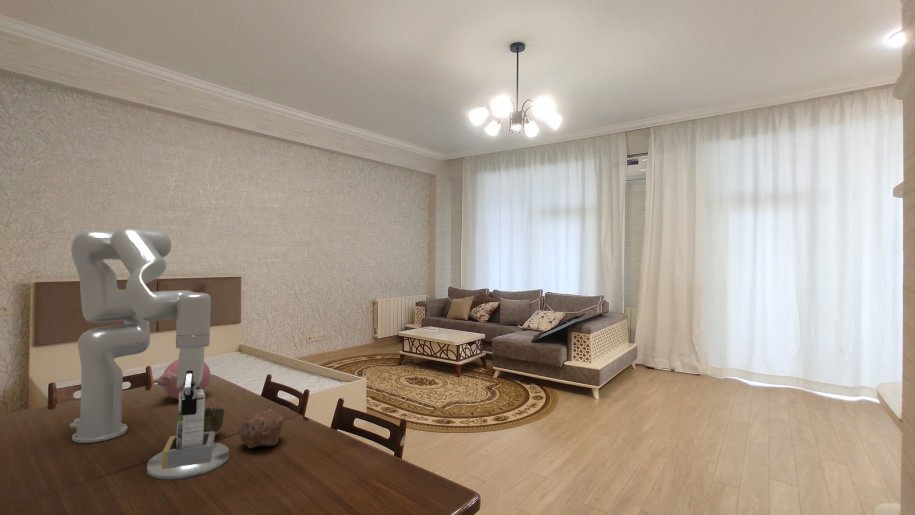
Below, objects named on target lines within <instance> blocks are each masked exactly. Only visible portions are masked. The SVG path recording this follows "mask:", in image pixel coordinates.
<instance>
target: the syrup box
mask: <svg viewBox="0 0 915 515" xmlns="http://www.w3.org/2000/svg"><path fill="white" fill-rule="evenodd" d="M192 391H193V390H192ZM182 397H183V391H182V392H179V400H178V405H177V406H178V407H177V419H176V421H177V422H176V436H177V443H176V449H179V448H186V447H194V446H202V445H203V432H204V410H205V409H206V408H205V406H206V405H205V404H206V394H205V390H203V389H199V390H196V398H197V409H196V414H193V415H181V409H182Z"/></svg>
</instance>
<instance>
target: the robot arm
mask: <svg viewBox="0 0 915 515" xmlns="http://www.w3.org/2000/svg"><path fill="white" fill-rule="evenodd" d="M171 241H172V240H171V238H170V236H169V235H168V234H167V233H166V232H164V231H162V230H159V229H151V228H137V227H135V228H134V227H128V228H127V227H126V228H121V229H119V230H117V231H115V230H114V231H113V230H97V229H96V230H86V231H82V232H80V233H78V234H77V235H75V237H74V238H73V240H72V243H71V244H72V245H71V258H72V261H73V263H74V266H75V269H76V271H77V274H78V277H79V278H78V279H79V288H80V289H79V290H80V301H81V302H80V303H81V311H82V316H83V318H84V319H85V321H86V322H89V323H94V324H96V323H97V324H98V323H110V322H119V321H123V322H124V324H120V325H111V326H109V325H108V326H101V327H95V328H91V329H88V330H87V331H84V332H83V333H82V334H81V335H80V336H79V338H78V340H77V349H78V354H79V360H80V373H81V374H80V379H81V380H80V408H79V409H80V411H79V414H80V416H79V417H77V418H75V419H74V420H73V422H71V423H70V424H69V428H76V431H75V432H74V433H73V434H72V436H71V437H72V438H71V439H72V441H73V442H74V443H78V444H91V443H98V442H103V441H108V440H112V439H114V438H117V437H120V436H121V435H124V434H125V433H126V432H128V429H129V427H128V425H127V424H126V423H123V422H122V412H123V406H122V405H123V382H124V381H123V377H124V375H123V373H124V372H123V370H122V368H121V367H120V365H119V364H117V362H116V361H115V359H117V358H122V357H127V356H128V357H129V356H133V355H138V354H141V353H144V352H146V351H147V349H148V348H149V346H150V343H151V328H150V327H151V326H150V322H158V321H166V320H167V321H168V320H176V323H175V324H176V326H175V348H176V349H178V350H179V354H178V359H179V360H178V359H177V360H178V374H177V388H178V389H179V388H180V387H182V386H183V384H184V386H183V397H182V409H181V415H193V414H196V409H197V398H196V390H199V389H200V382H201V380H202V376H203V367H204V362H205V348H206V347H210V344H211V342H210V340H211V339H210V335H211V308H212V306H211V304H212V302H211V300H212V299H211V296H210V294H208V293H206V292H195V291H191V290H184V289H183V290H160V291H159V290H158V291H151V290H150V289H149V287H148V286H147V285H146V284H148V283H151V282H153V281H154V280H157V279H158V278H159V277H161V276H162V275H163V274H164V272H166V268H167V263H166V261H165V259H164V258H165V257H167V256H168V255H169V254H170V253H171V250H172V242H171ZM105 260H119V261H121V262H122V264H123V265H124V266H125V268H126V270H127V271H128V272H129V274H130V275H129V276H128V279H127V281H126V284H125V289H119V288H118V283H117V281H118V280H117V275H116V273H115V271H114V269H112V267H111V266H110V265H109V264H108V263H107V262H106V261H105ZM192 390H193V391H192Z"/></svg>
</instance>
